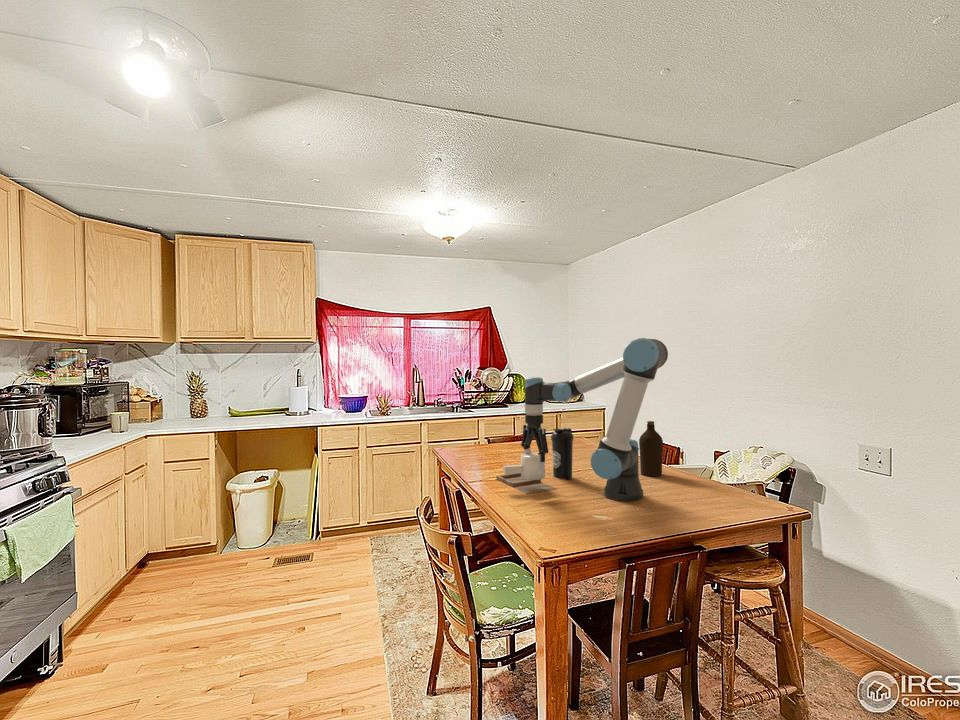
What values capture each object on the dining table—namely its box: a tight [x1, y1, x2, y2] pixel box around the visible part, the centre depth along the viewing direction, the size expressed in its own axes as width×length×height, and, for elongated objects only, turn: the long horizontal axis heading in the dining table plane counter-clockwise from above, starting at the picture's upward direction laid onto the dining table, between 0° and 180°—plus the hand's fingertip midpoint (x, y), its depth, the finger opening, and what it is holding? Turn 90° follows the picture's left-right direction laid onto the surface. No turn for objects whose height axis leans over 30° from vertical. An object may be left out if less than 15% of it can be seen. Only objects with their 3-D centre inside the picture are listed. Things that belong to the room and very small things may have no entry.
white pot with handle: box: [502, 452, 546, 481], centre depth 199 cm, size 18×10×9 cm, turn 103°
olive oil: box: [638, 420, 664, 478], centre depth 223 cm, size 11×11×25 cm
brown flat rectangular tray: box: [496, 473, 558, 495], centre depth 207 cm, size 27×15×2 cm, turn 26°
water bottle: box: [550, 427, 574, 481], centre depth 219 cm, size 10×10×23 cm
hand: (534, 466), depth 200 cm, fingers closed on white pot with handle, 10 cm apart
